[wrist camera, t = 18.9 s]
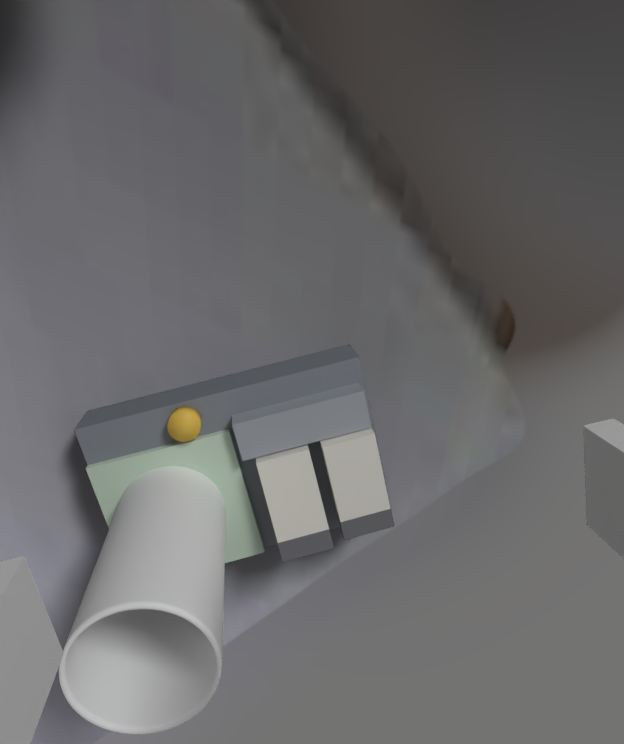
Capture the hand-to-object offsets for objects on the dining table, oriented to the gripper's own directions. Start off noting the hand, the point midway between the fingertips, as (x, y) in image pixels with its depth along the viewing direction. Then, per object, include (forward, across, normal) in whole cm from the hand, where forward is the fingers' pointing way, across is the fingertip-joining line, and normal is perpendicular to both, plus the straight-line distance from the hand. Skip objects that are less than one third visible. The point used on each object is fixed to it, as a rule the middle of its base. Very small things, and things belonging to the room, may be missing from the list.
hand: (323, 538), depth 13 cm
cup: (+29, -10, -15) cm, 34 cm away
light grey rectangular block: (+28, -1, -11) cm, 30 cm away
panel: (+34, -4, -13) cm, 37 cm away
